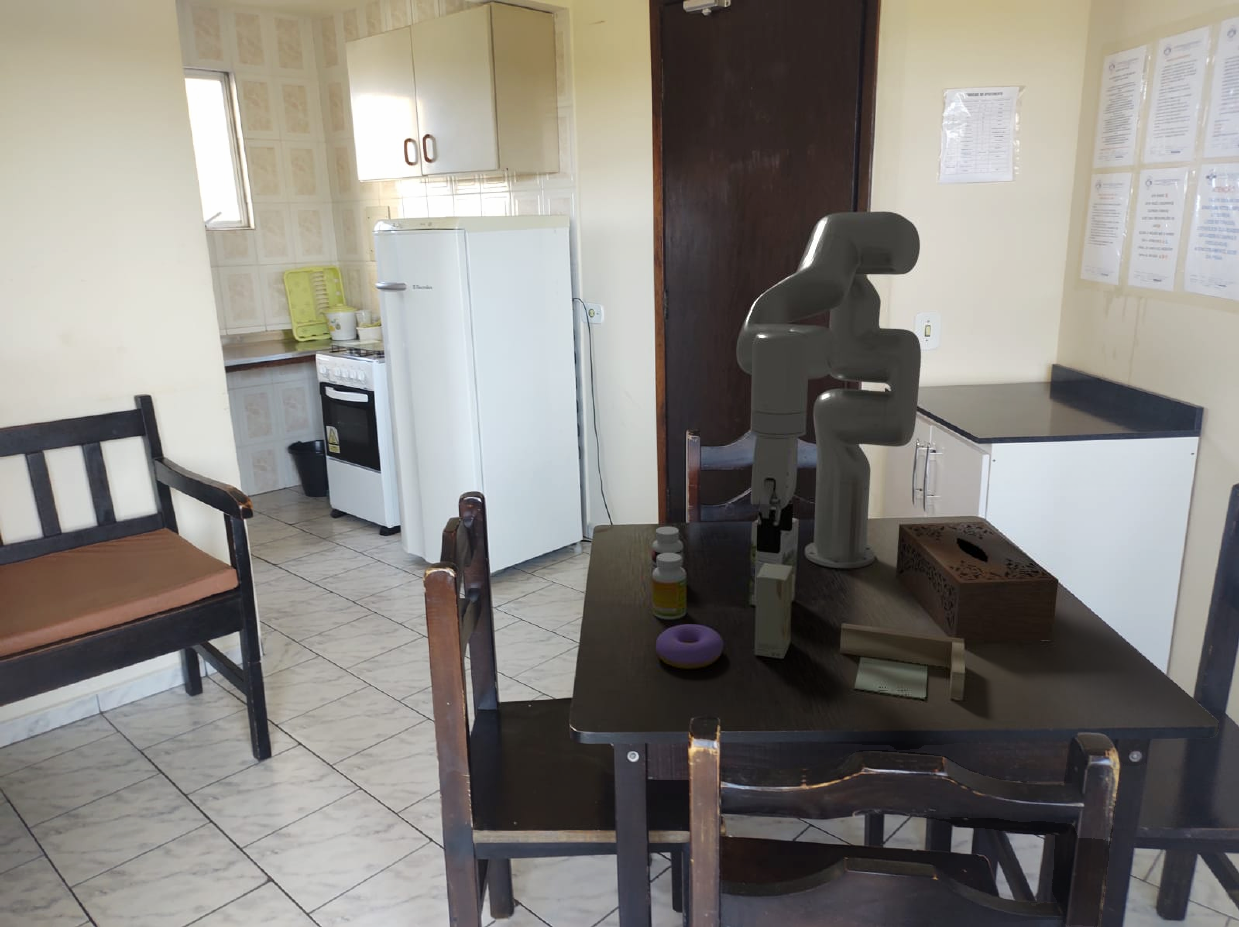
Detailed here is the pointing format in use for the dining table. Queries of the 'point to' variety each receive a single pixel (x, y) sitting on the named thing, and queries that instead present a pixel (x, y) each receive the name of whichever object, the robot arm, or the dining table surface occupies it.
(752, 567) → the syrup box
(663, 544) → the pill bottle
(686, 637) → the donut
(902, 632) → the corner arena
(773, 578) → the skincare box
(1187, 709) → the dining table surface
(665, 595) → the supplement bottle
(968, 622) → the tissue box cover
